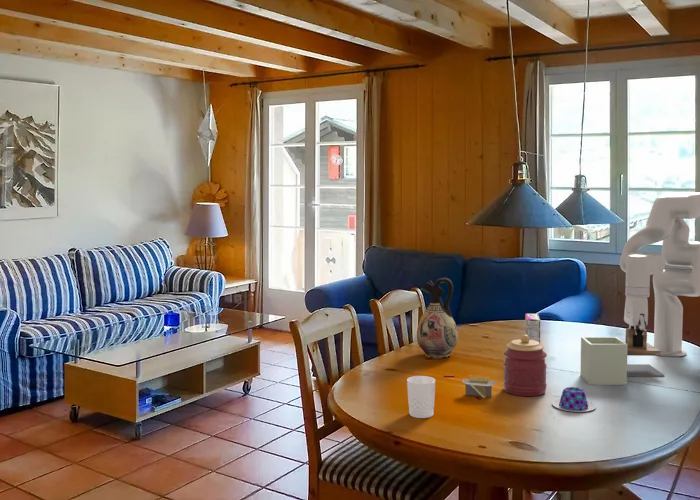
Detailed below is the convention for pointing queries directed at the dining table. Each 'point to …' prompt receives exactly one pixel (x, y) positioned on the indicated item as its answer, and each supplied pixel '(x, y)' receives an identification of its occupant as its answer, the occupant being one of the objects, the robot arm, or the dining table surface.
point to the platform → (479, 386)
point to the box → (604, 360)
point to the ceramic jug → (437, 322)
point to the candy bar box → (532, 326)
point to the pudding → (574, 400)
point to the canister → (525, 367)
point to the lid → (639, 351)
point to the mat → (642, 371)
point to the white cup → (421, 396)
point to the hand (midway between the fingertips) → (635, 344)
